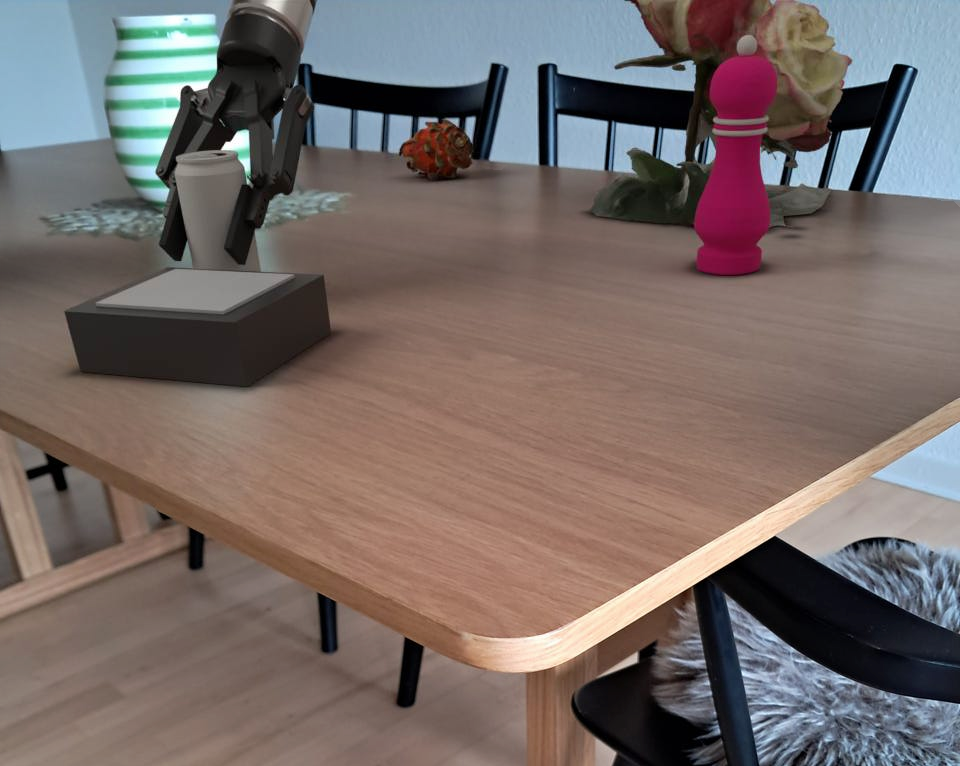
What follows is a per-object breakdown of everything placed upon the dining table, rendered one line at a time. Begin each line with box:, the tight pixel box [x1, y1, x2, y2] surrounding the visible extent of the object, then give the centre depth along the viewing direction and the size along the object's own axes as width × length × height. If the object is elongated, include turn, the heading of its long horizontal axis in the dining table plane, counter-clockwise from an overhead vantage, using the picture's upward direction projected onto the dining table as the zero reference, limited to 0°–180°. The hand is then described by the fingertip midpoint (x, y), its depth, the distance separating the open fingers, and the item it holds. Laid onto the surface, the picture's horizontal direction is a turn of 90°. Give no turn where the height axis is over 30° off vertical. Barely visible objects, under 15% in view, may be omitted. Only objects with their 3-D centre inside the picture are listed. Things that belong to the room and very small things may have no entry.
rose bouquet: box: [573, 0, 853, 228], centre depth 117 cm, size 26×29×30 cm
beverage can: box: [175, 149, 262, 272], centre depth 96 cm, size 6×6×12 cm
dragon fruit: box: [396, 118, 474, 181], centre depth 151 cm, size 8×8×12 cm
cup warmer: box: [63, 266, 332, 388], centre depth 85 cm, size 17×14×5 cm
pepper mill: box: [693, 35, 777, 276], centre depth 95 cm, size 7×7×20 cm
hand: (201, 254), depth 94 cm, fingers closed on beverage can, 6 cm apart
